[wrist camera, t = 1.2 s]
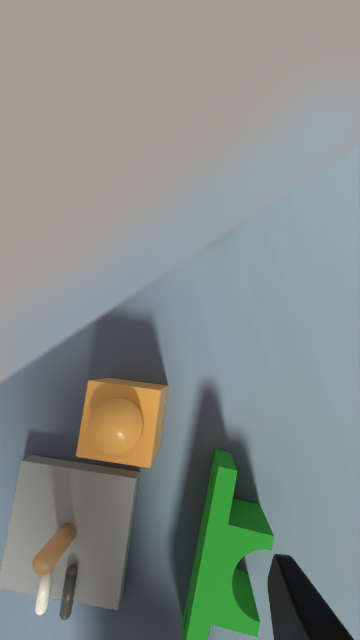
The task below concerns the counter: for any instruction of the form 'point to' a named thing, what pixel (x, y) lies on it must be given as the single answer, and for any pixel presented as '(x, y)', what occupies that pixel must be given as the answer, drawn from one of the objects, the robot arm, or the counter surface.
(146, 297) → the counter surface
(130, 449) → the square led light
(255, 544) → the pipe clamp
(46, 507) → the plate
